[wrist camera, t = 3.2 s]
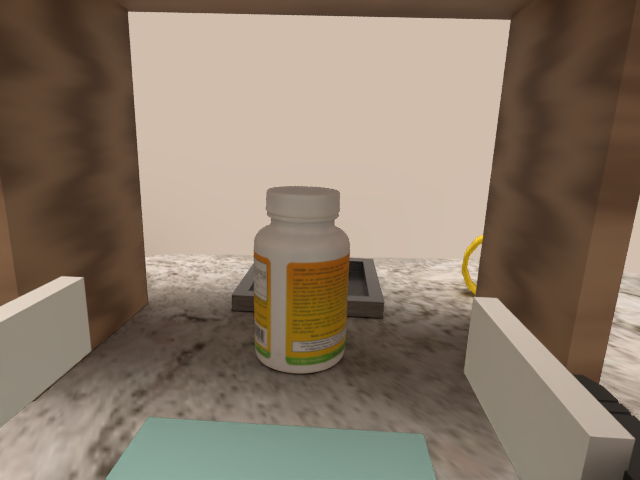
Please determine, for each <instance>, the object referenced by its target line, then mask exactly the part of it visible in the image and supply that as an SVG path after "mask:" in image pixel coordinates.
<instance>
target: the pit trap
mask: <svg viewBox="0 0 640 480" xmlns="http://www.w3.org/2000/svg"><path fill="white" fill-rule="evenodd" d="M232 310H236V311H254V264H253V265H252V267H251V268H250V269H249V271H248V272H247V274H246V275H245V277H244V278H243V279H242V281H241V282H240V284H239V285H238V287H237V288H236V289H235V291H234V292H233V294H232ZM383 312H384V300H383V296H382V292H381V288H380V284H379V281H378V277H377V273H376V269H375V265H374V261H373V259H360V258H349V276H348V298H347V316H355V317H375V318H383Z"/></svg>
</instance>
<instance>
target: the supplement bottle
mask: <svg viewBox="0 0 640 480" xmlns="http://www.w3.org/2000/svg"><path fill="white" fill-rule="evenodd" d="M266 210H267V215H268V216H269V217H271V224H270V225H268V226H265V227H264V228H262V229H261V230H260V231H259V232H258V233H257V235H256V237H255V240H254V341H255V352H256V355H257V357H258V358H259V360H260V361H261V362H262V363H263V364H265V365H266V366H268V367H270V368H272V369H275V370H278V371H282V372H287V373H313V372H318V371H322V370H325V369H328V368H330V367H332V366H334V365H335V364H336V363H337V362H339V361H340V359H341V358H342V356H343V354H344V351H345V342H346V320H347V298H348V276H349V257H350V243H349V239H348V236H347V235H346V233H345V232H344V231H343V230H341V229H340V228H338V227H336V226H335V225H334V220H335V219H336V218H337V217H338V216H339V214H338V213H339V211H340V193H339V191H337V190H334V189H329V188H321V187H302V186H300V187H299V186H287V187H274V188H270V189H268V190H267V197H266Z"/></svg>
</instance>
